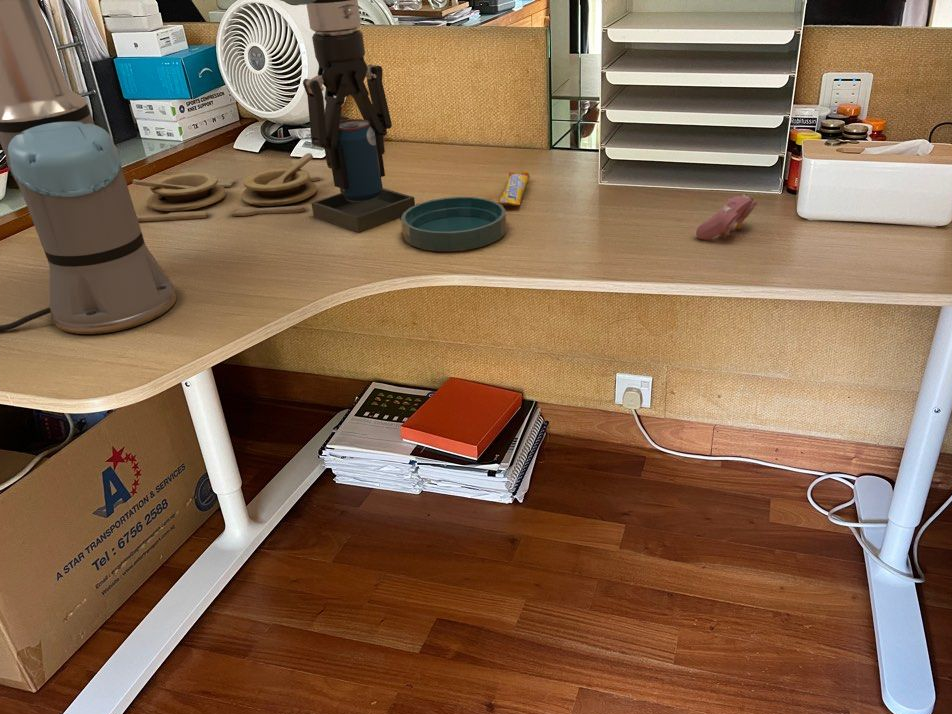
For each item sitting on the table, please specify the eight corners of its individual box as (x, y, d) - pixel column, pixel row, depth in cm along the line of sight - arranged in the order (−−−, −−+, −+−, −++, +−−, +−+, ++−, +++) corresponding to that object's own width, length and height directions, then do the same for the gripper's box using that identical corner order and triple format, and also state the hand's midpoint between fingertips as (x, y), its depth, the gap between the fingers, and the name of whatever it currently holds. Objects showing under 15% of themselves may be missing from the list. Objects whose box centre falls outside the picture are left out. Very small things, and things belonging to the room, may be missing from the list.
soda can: (391, 193, 141) (381, 120, 135) (366, 206, 136) (354, 131, 129) (359, 188, 144) (347, 116, 137) (333, 200, 139) (320, 127, 132)
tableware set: (132, 222, 142) (121, 188, 139) (167, 186, 158) (158, 154, 155) (309, 212, 143) (302, 178, 140) (325, 177, 160) (319, 145, 156)
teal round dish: (454, 261, 123) (452, 241, 121) (382, 237, 132) (379, 217, 130) (527, 229, 133) (527, 209, 131) (456, 208, 142) (454, 190, 140)
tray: (358, 232, 134) (356, 217, 133) (313, 217, 141) (310, 202, 140) (416, 211, 142) (414, 197, 140) (370, 197, 149) (368, 183, 147)
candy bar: (508, 180, 154) (508, 170, 153) (531, 180, 154) (530, 170, 153) (495, 211, 140) (494, 200, 139) (519, 211, 140) (519, 200, 139)
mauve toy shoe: (714, 253, 126) (738, 217, 121) (691, 235, 127) (713, 198, 122) (743, 233, 132) (767, 198, 127) (721, 216, 133) (743, 180, 128)
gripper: (295, 43, 118) (324, 202, 130) (403, 23, 130) (420, 169, 142) (265, 39, 122) (296, 193, 134) (372, 19, 134) (391, 162, 147)
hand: (360, 180), depth 138 cm, fingers closed on soda can, 7 cm apart
